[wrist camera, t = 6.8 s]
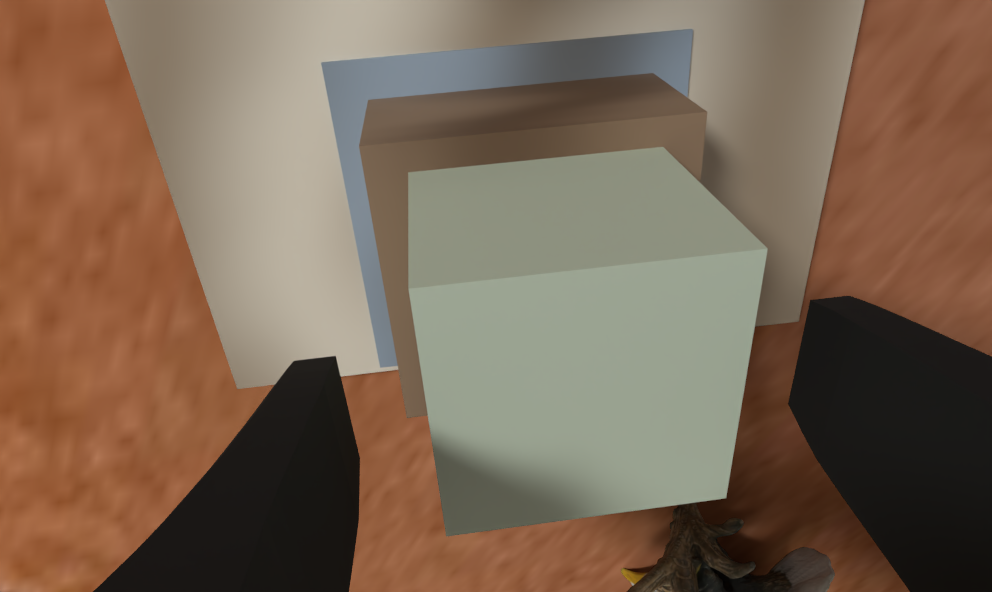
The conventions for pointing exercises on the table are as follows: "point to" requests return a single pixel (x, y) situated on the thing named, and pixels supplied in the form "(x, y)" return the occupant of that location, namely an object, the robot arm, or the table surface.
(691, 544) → the eagle figurine
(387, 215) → the walnut block
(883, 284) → the table surface
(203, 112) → the build plate
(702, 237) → the green block
